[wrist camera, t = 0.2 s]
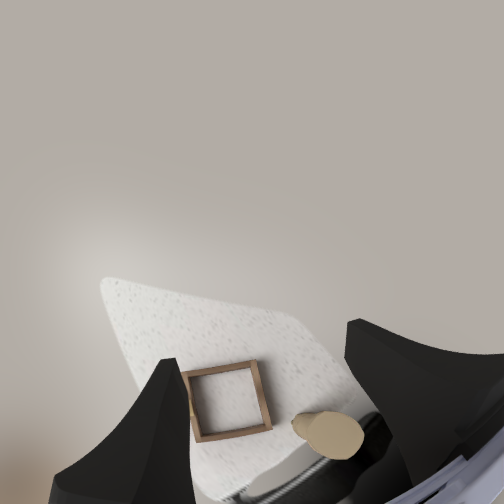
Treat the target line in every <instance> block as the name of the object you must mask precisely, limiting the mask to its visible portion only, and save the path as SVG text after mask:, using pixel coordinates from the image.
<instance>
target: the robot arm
mask: <svg viewBox="0 0 504 504" xmlns="http://www.w3.org/2000/svg"><path fill="white" fill-rule="evenodd" d="M344 358H345V360H346V362H347V364H348V366H349V368H350V370H351V372H352V374H353V375H354V377H355V378H356V380H357V381H358V382H359V384H360V385H361V387H362V388H363V389H364V391H365V392H366V393H367V395H368V396H369V397H370V399H371V400H372V401H373V403H374V404H375V406H376V407H377V408H378V410H379V411H380V413H381V414H382V416H383V418H384V419H385V421H386V423H387V425H388V427H389V429H390V430H391V432H392V434H393V437H394V439H395V440H396V442H397V445H398V447H399V449H400V451H401V454H402V456H403V458H404V461H405V464H406V466H407V469H408V472H409V475H410V478H411V481H412V485H413V486H414V488H412V489H411V490H409V491H407V492H406V493H404V494H402V495H400V496H398V497H397V498H395V499H393V500H391V501H389V502H387V503H385V504H418V503H419V502H421V501H422V500H424V499H425V498H427V497H428V496H430V495H431V494H433V493H434V492H436V491H437V490H438V489H440V490H439V493H438V494H437V495H436V496H434V497H433V498H431V499H430V500H429V501H427V502H426V503H425V504H490V503H492V501H493V500H494V499H495V498H496V497H497V496H498V494H500V492H501V491H502V490H503V489H504V354H489V355H482V354H480V355H479V354H466V353H458V352H452V351H447V350H442V349H438V348H434V347H430V346H427V345H424V344H420V343H418V342H415V341H412V340H409V339H407V338H404V337H402V336H400V335H397V334H395V333H392V332H390V331H388V330H386V329H383V328H381V327H379V326H377V325H374V324H372V323H370V322H368V321H365V320H363V319H360V318H359V319H356V320H352V321H349V322H348V323H347V335H346V346H345V357H344ZM48 504H196V501H195V496H194V490H193V485H192V477H191V470H190V407H189V397H188V391H187V388H186V386H185V383H184V380H183V378H182V375H181V372H180V370H179V367H178V364H177V361H176V358H169V359H161V360H160V361H159V363H158V364H157V366H156V368H155V370H154V372H153V373H152V375H151V377H150V379H149V380H148V382H147V384H146V385H145V387H144V389H143V390H142V392H141V394H140V395H139V397H138V398H137V400H136V401H135V403H134V404H133V406H132V407H131V408H130V410H129V412H128V413H127V414H126V415H125V417H124V418H123V419H122V420H121V422H120V423H119V424H118V425H117V426H116V428H115V429H114V430H113V431H112V432H111V433H110V434H109V435H108V436H107V437H106V438H105V439H104V440H103V441H102V442H101V443H100V444H99V445H98V446H96V447H95V448H94V449H93V450H92V451H91V452H89V453H88V454H87V455H85V456H84V457H83V458H82V459H80V460H79V461H77V462H76V463H74V464H73V465H71V466H70V467H68V468H66V469H64V470H63V471H61V472H59V473H58V474H56V475H55V476H54V479H53V484H52V489H51V493H50V498H49V502H48Z"/></svg>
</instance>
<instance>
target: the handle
mask: <svg viewBox="0 0 504 504" xmlns="http://www.w3.org/2000/svg"><path fill="white" fill-rule="evenodd" d="M291 424H292V425H293V429H294V431H295V433H296V434H297V435H298V436H300V437H301V438H303V439H305V440H307V442H308V443H309V445H310V446H311V448H312V449H313V450H314V451H316V452H318V453H320V454H322V455H323V456H325V457H327V458H330V459H348V458H350V457H351V456H353V455H354V454H355V453H356V452H357V451H358V449H359V448H360V446H361V444H362V442H363V439H364V433H363V431H362V429H361V427H360V426H359V424H358V423H357V422H356V421H355V420H354V419H352V418H351V417H349V416H347V415H345V414H343V413H340V412H331V411H321V412H319V413H317V414H314V413H303V414H297V415H296V416H295V418H294V420H292V421H291Z"/></svg>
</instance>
